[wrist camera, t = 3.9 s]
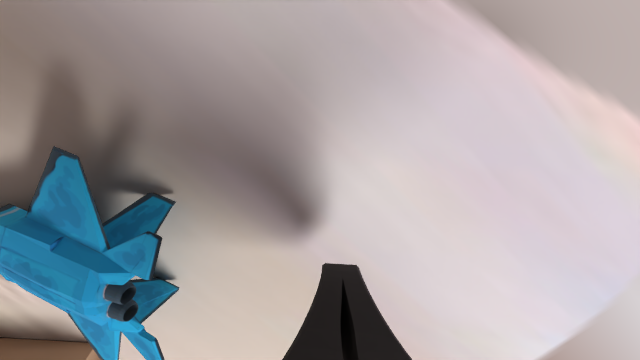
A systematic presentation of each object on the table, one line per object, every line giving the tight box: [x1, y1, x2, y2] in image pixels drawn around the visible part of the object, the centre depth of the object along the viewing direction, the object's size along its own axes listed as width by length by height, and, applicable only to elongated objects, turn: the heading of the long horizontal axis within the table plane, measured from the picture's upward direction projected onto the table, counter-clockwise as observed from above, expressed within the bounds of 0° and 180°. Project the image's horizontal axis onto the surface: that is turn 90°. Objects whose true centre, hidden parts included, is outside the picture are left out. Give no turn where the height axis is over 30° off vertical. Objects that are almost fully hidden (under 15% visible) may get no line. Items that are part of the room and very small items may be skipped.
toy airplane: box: [0, 146, 179, 360], centre depth 14 cm, size 12×10×4 cm
